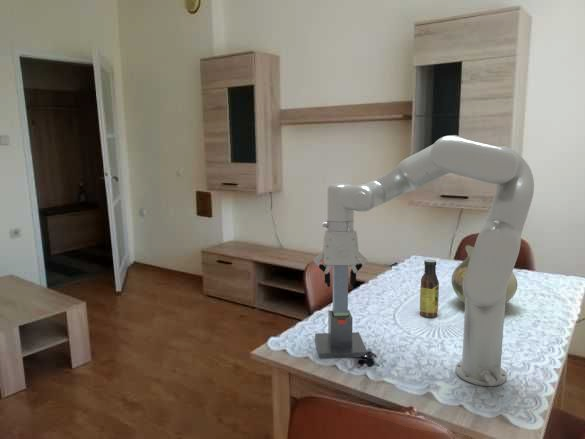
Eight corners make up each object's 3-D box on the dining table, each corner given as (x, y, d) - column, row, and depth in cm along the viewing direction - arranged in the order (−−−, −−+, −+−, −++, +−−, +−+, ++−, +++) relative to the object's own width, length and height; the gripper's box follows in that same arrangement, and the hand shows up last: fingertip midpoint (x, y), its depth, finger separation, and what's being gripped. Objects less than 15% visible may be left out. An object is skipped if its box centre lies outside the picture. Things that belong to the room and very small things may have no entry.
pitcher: (475, 321, 160) (479, 250, 156) (436, 299, 183) (439, 236, 179) (529, 314, 166) (535, 246, 162) (485, 294, 189) (489, 233, 184)
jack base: (367, 356, 135) (367, 322, 134) (319, 358, 135) (318, 323, 133) (358, 336, 149) (359, 305, 147) (315, 337, 149) (314, 306, 147)
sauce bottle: (438, 318, 163) (441, 263, 160) (420, 317, 164) (422, 262, 161) (436, 312, 169) (439, 258, 166) (419, 311, 171) (420, 258, 167)
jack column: (348, 326, 139) (348, 253, 135) (333, 326, 139) (334, 254, 135) (345, 320, 143) (346, 250, 139) (332, 321, 143) (332, 250, 139)
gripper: (311, 229, 132) (312, 290, 135) (372, 227, 132) (371, 288, 135) (309, 224, 139) (310, 282, 142) (367, 223, 140) (366, 280, 143)
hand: (340, 284), depth 139 cm, fingers open, 6 cm apart
